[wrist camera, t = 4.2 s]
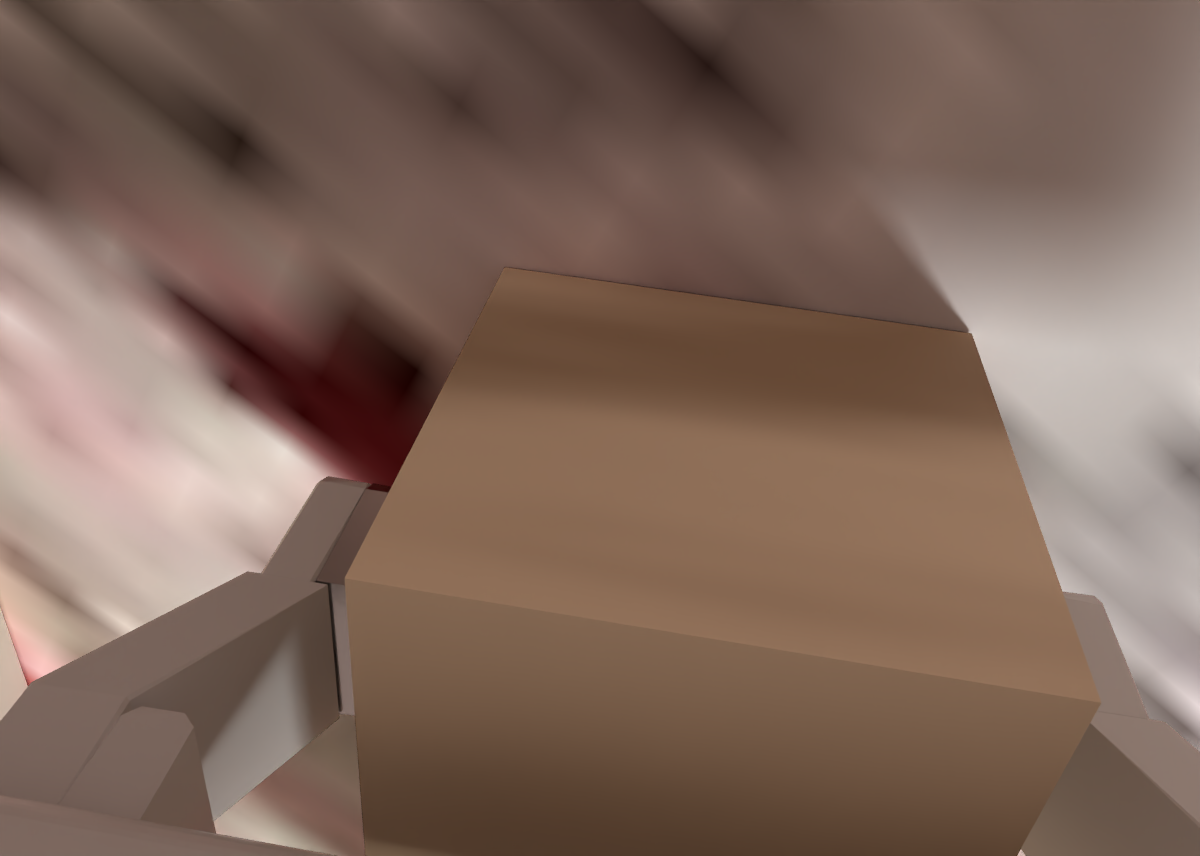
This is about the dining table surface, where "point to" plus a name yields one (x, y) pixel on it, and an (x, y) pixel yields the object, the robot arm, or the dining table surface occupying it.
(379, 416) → the dining table surface
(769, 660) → the beech cube
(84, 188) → the dining table surface
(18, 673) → the board
